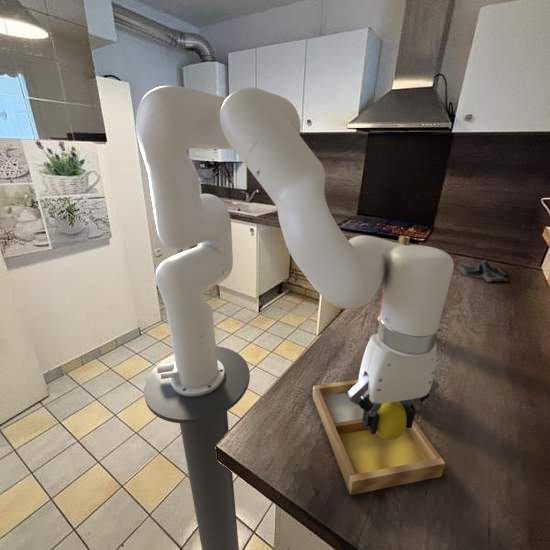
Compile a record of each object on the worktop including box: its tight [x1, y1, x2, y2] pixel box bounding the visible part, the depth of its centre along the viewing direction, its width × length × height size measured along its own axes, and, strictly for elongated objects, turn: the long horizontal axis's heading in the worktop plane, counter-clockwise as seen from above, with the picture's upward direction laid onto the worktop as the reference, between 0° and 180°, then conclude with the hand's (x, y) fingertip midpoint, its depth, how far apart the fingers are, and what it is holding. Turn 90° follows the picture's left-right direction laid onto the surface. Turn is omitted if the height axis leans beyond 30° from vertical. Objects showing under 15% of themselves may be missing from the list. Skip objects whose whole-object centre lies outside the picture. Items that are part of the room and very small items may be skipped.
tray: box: [312, 379, 446, 496], centre depth 55 cm, size 16×20×3 cm
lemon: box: [376, 401, 407, 440], centre depth 48 cm, size 6×6×8 cm
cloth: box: [458, 259, 509, 283], centre depth 128 cm, size 22×19×6 cm
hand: (387, 423), depth 48 cm, fingers closed on lemon, 5 cm apart
